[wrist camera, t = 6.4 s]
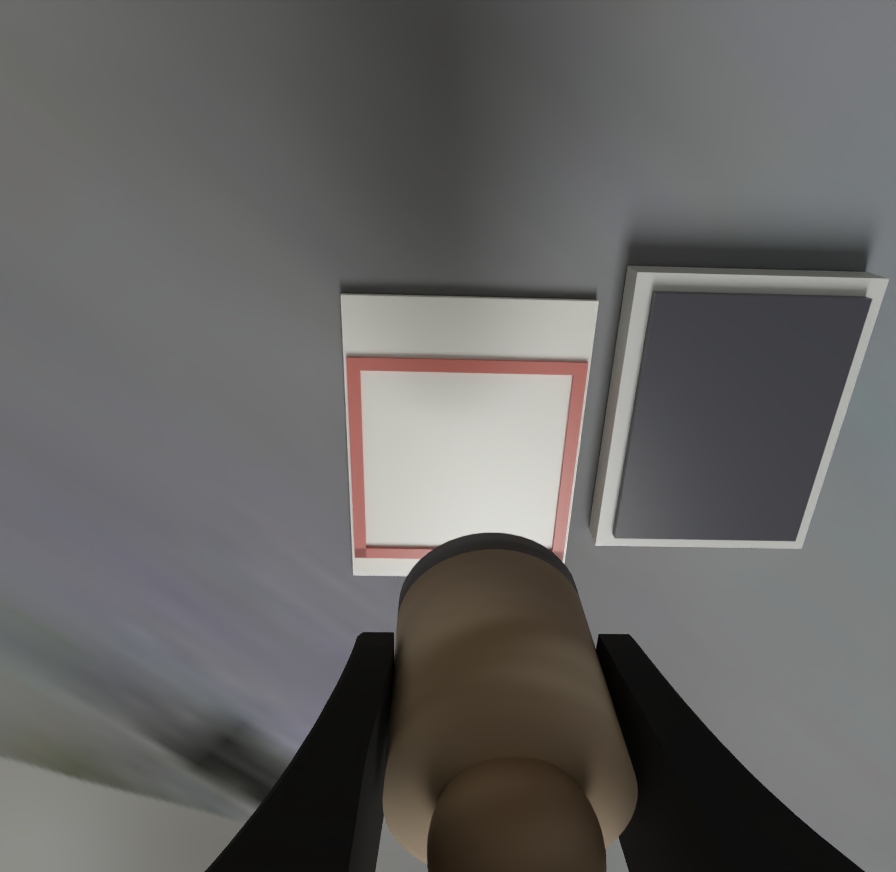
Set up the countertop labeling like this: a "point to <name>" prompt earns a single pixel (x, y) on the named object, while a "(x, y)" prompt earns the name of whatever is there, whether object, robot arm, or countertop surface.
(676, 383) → the ink pad
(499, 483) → the sheet
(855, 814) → the countertop surface
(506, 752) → the stamp
